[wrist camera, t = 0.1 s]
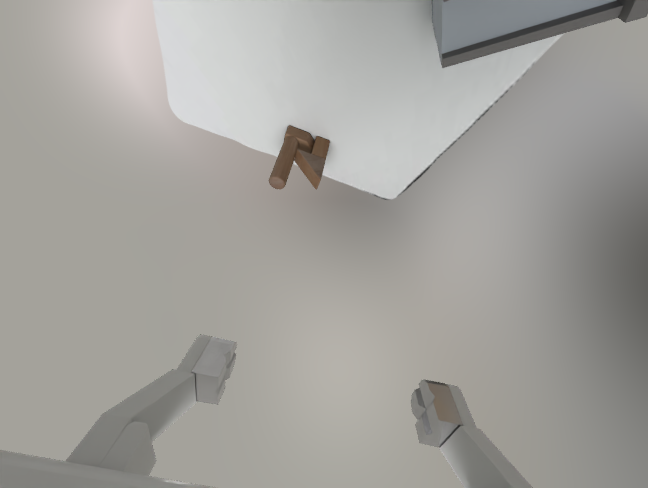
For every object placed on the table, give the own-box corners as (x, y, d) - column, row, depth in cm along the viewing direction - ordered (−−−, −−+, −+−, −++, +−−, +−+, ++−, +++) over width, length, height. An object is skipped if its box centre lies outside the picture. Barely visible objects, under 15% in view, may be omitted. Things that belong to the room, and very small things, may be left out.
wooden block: (325, 151, 66) (313, 202, 57) (286, 136, 64) (266, 186, 55) (330, 140, 63) (318, 191, 53) (288, 124, 61) (268, 174, 52)
